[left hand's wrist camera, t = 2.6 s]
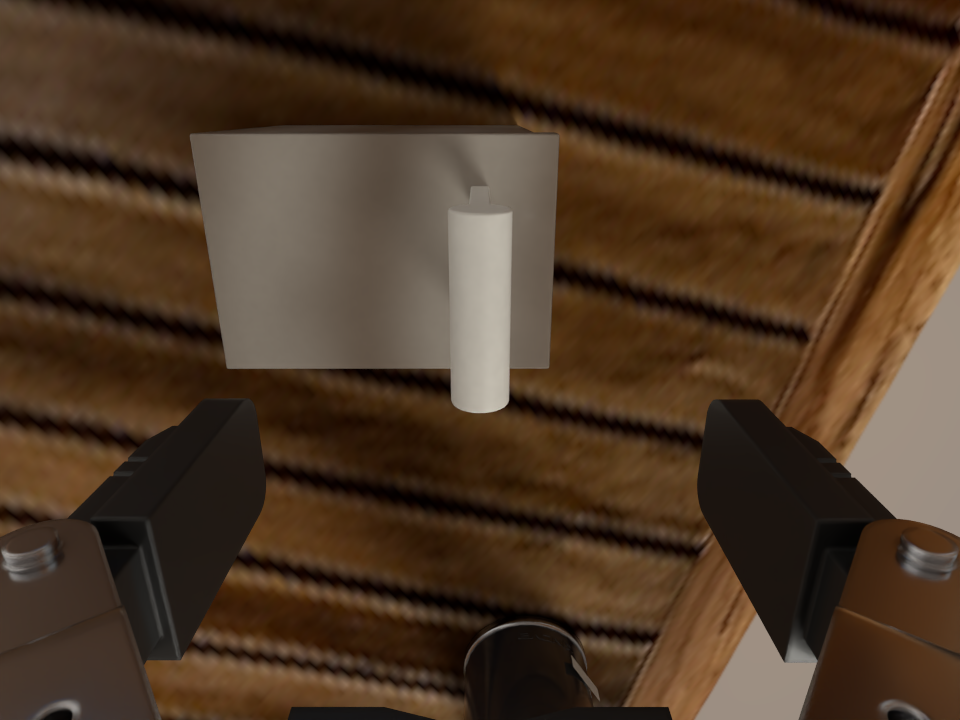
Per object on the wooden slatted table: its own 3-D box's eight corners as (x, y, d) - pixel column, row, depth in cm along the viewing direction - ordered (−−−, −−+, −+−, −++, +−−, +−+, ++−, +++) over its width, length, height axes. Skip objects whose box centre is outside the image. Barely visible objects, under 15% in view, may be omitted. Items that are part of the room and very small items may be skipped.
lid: (556, 132, 25) (595, 144, 16) (546, 359, 28) (574, 463, 20) (200, 132, 24) (60, 145, 16) (235, 359, 28) (134, 463, 20)
